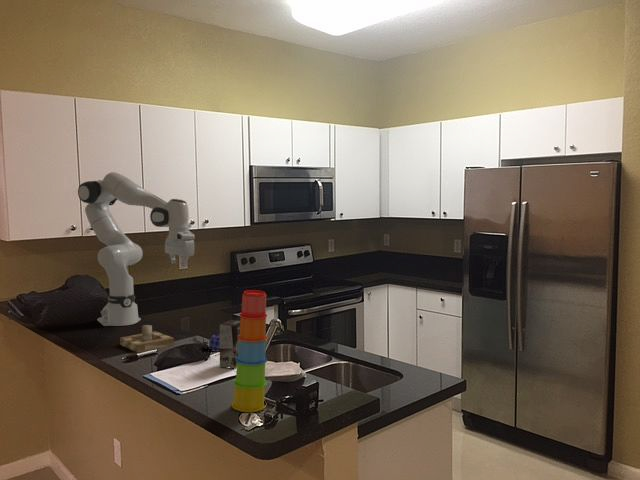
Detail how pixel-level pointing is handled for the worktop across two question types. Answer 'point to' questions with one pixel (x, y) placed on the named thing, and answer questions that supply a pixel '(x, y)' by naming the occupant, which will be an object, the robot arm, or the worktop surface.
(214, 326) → the worktop surface
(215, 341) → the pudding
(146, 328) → the peg
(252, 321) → the stacking cups
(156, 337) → the collar
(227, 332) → the coffee box
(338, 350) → the worktop surface
